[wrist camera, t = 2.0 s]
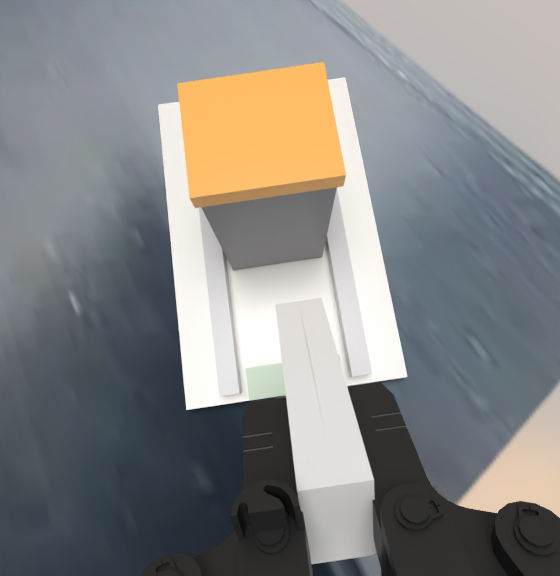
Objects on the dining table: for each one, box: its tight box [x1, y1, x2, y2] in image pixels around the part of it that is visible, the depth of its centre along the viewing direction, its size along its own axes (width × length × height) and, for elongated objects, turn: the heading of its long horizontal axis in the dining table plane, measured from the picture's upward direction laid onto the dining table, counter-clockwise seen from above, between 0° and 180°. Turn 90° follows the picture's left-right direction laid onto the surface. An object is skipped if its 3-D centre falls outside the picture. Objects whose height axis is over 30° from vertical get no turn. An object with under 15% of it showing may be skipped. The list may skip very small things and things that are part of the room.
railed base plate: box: [158, 77, 407, 410], centre depth 30 cm, size 22×14×3 cm, turn 8°
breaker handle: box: [177, 62, 346, 270], centre depth 24 cm, size 5×6×12 cm
